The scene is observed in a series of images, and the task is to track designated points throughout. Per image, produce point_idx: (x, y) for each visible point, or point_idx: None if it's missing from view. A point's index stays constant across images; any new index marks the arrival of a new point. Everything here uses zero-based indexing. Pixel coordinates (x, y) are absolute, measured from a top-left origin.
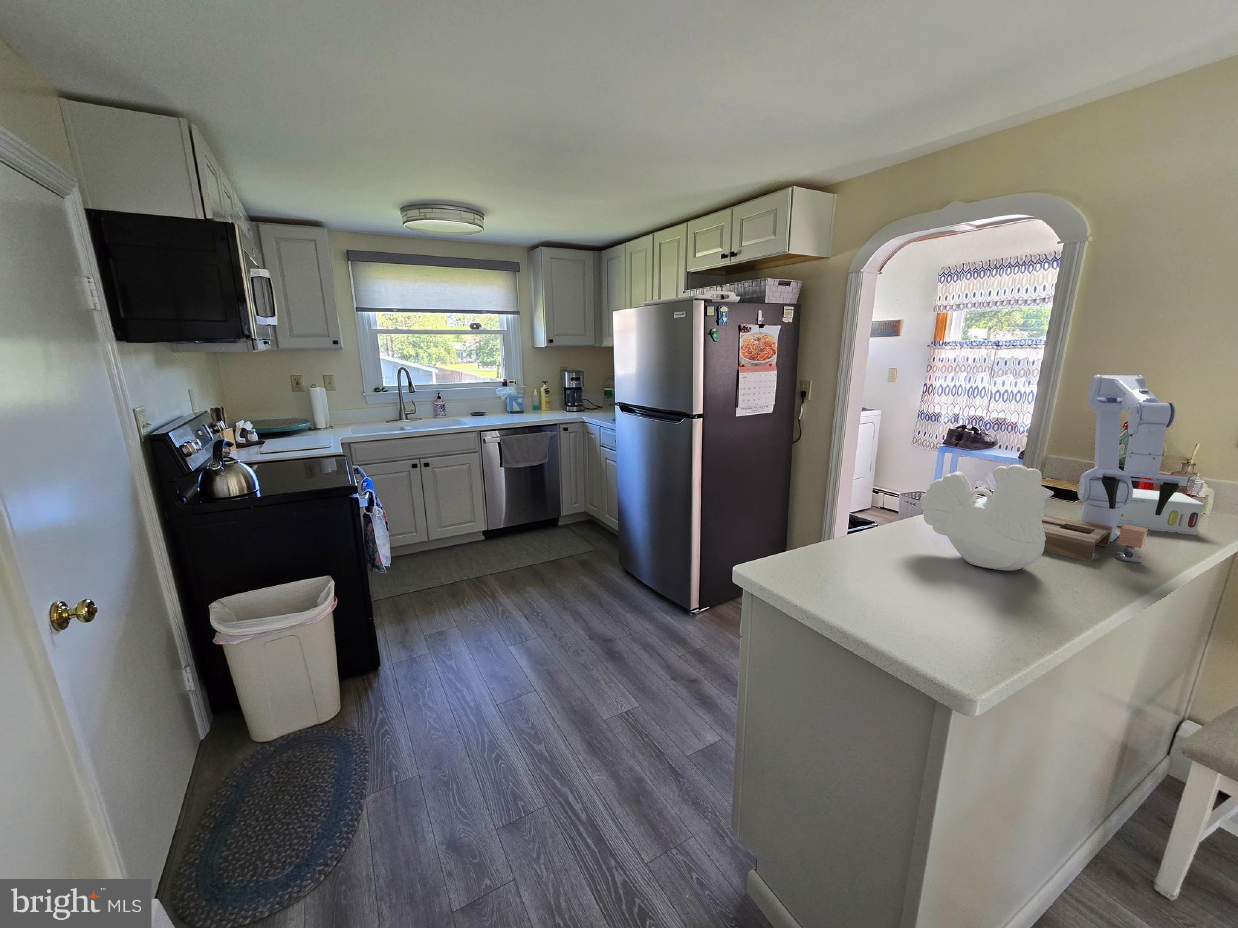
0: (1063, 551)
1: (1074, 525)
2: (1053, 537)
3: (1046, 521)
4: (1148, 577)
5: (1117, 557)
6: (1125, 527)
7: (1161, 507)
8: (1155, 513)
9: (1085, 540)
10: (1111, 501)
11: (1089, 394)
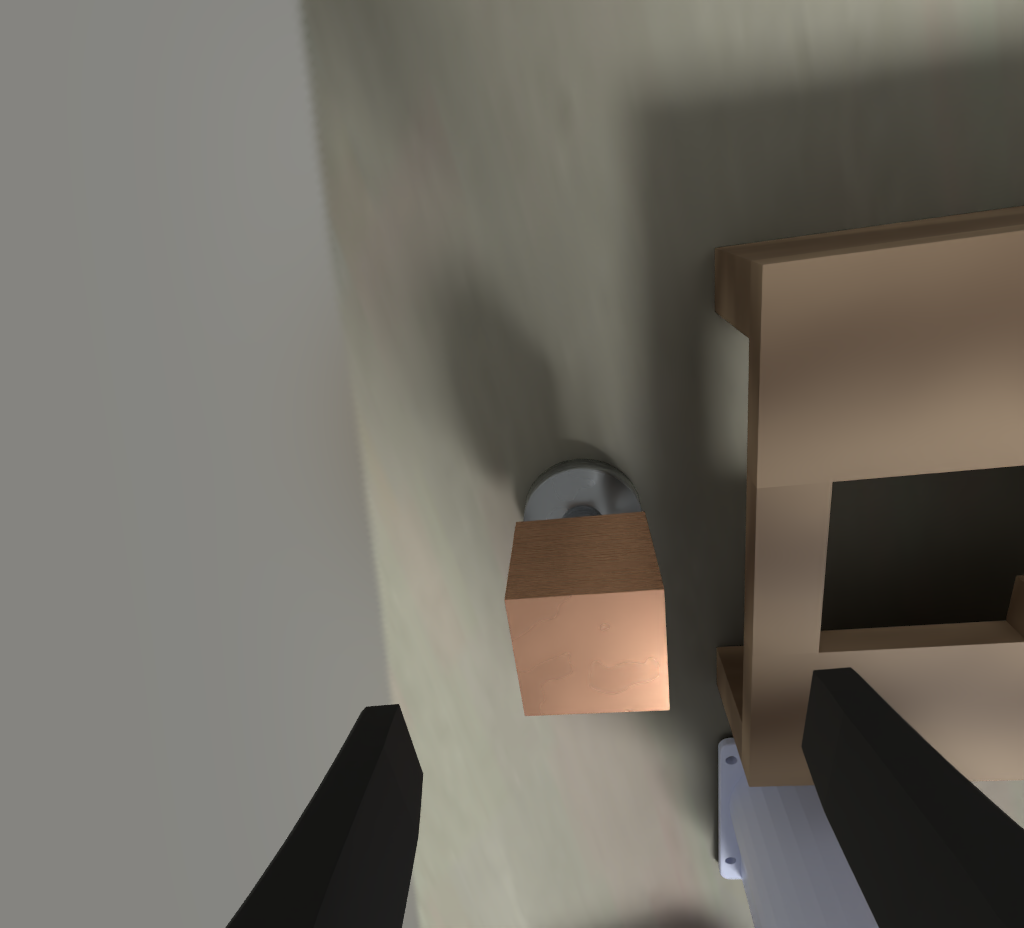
0: (900, 227)
1: (961, 643)
2: None
3: None
4: (399, 255)
5: (620, 473)
6: (640, 622)
7: (313, 803)
8: (392, 718)
9: (826, 255)
10: (903, 752)
11: None
